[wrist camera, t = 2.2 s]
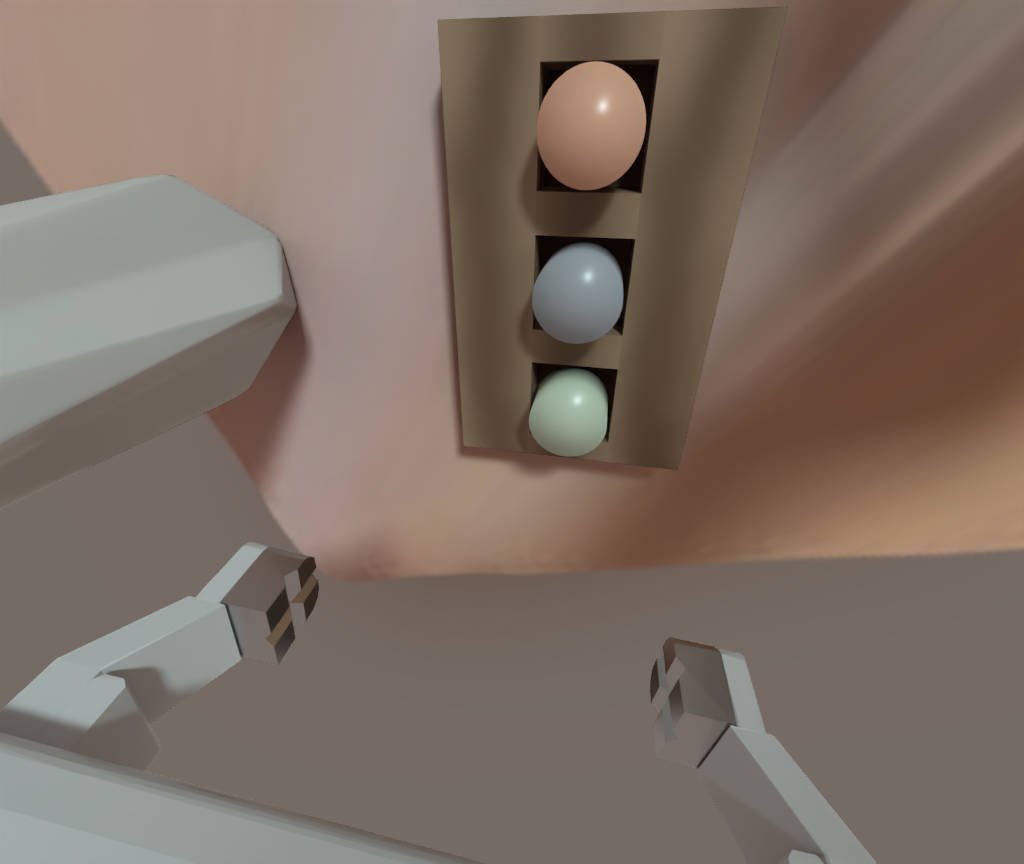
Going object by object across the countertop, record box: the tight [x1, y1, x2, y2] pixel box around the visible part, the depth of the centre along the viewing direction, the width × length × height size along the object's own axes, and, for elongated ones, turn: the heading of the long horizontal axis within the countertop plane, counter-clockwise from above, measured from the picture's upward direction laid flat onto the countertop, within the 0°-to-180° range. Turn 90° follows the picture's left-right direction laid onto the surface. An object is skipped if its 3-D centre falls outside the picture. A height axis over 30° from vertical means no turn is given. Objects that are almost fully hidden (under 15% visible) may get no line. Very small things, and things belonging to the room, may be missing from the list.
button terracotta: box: [537, 61, 646, 190], centre depth 20 cm, size 4×4×3 cm
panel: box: [438, 7, 788, 470], centre depth 26 cm, size 14×22×3 cm, turn 0°
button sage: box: [529, 367, 608, 457], centre depth 28 cm, size 4×4×3 cm
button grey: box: [532, 242, 623, 344], centre depth 24 cm, size 4×4×3 cm
